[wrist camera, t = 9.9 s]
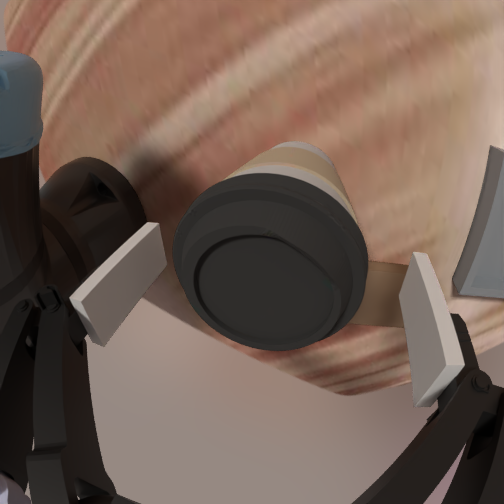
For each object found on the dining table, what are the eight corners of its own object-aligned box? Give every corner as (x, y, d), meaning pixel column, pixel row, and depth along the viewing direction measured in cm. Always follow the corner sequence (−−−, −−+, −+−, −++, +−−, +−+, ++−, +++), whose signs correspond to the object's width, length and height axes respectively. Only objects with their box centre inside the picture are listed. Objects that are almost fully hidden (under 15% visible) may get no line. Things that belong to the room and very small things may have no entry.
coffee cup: (301, 246, 27) (270, 389, 15) (224, 184, 25) (127, 294, 13) (373, 180, 22) (418, 310, 10) (289, 105, 20) (227, 138, 8)
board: (343, 309, 30) (343, 322, 29) (354, 256, 26) (355, 268, 25) (409, 315, 29) (412, 328, 27) (429, 264, 25) (434, 277, 23)
